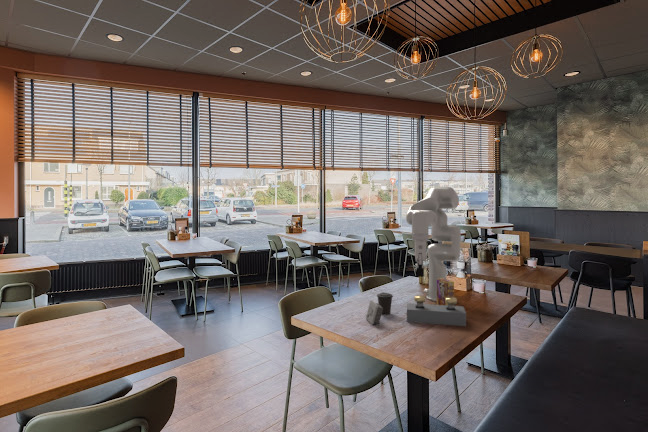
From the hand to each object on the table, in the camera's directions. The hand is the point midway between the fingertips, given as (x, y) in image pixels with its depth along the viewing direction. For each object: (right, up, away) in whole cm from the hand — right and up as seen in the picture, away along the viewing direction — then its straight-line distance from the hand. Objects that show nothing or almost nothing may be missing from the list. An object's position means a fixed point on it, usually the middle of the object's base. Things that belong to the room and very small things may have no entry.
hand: (420, 275), depth 170 cm
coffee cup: (-15, -21, +11) cm, 28 cm away
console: (+7, -21, -1) cm, 22 cm away
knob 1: (0, -17, +1) cm, 17 cm away
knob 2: (+14, -17, -2) cm, 22 cm away
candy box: (+17, -20, +16) cm, 31 cm away
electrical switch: (-22, -22, -1) cm, 31 cm away
